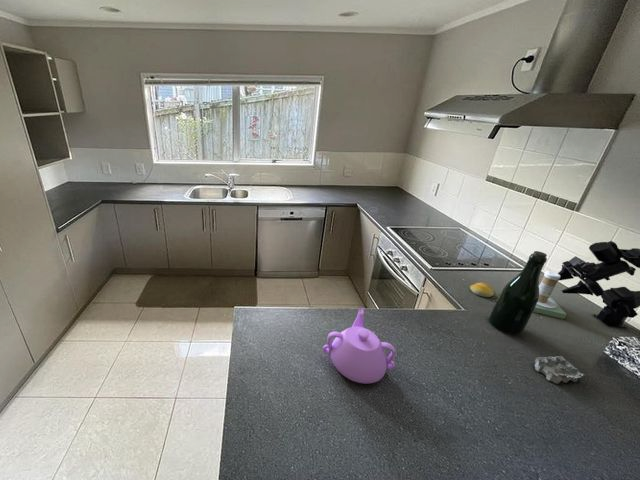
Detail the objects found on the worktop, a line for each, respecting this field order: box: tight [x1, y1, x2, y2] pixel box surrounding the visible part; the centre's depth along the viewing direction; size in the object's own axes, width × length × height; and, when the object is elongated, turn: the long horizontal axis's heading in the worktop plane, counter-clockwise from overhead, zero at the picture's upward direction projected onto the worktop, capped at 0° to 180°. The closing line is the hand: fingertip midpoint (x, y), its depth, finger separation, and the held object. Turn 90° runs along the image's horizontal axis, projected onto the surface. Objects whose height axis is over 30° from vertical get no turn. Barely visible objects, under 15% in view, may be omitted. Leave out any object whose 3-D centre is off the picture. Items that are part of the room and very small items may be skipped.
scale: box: [533, 296, 567, 319], centre depth 122 cm, size 14×12×4 cm
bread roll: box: [469, 282, 495, 298], centre depth 130 cm, size 8×9×4 cm
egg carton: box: [534, 355, 584, 385], centre depth 90 cm, size 11×8×4 cm
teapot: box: [322, 306, 397, 384], centre depth 90 cm, size 22×22×14 cm
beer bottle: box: [488, 250, 548, 336], centre depth 104 cm, size 10×10×33 cm
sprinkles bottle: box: [538, 270, 561, 303], centre depth 119 cm, size 5×5×14 cm
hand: (556, 286), depth 117 cm, fingers open, 9 cm apart
